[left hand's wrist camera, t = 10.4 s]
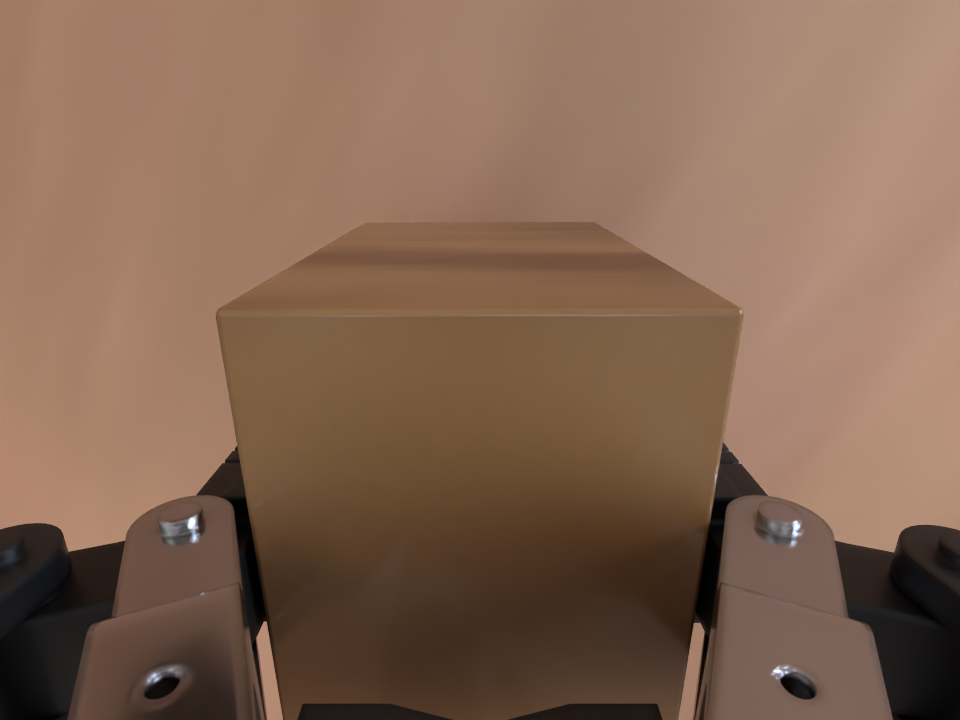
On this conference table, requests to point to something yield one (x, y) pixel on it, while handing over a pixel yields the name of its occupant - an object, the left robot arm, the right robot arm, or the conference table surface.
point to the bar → (480, 466)
